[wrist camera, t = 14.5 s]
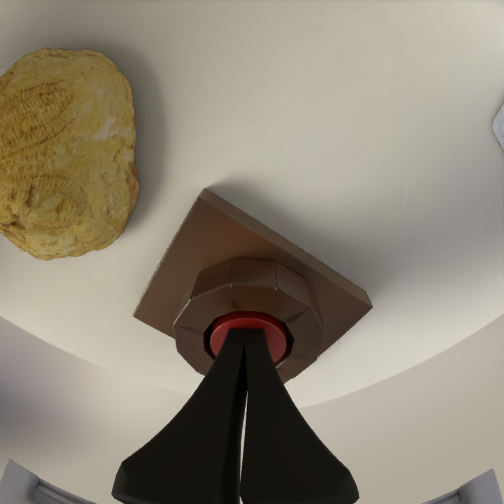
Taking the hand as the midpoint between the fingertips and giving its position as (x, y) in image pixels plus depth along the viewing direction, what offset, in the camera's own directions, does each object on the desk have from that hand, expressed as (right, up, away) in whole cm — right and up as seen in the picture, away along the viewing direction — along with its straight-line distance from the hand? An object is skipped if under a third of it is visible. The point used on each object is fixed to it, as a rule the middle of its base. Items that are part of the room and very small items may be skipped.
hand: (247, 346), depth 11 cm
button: (0, +1, +1) cm, 2 cm away
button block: (0, +1, +3) cm, 3 cm away
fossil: (-10, +8, -1) cm, 13 cm away
